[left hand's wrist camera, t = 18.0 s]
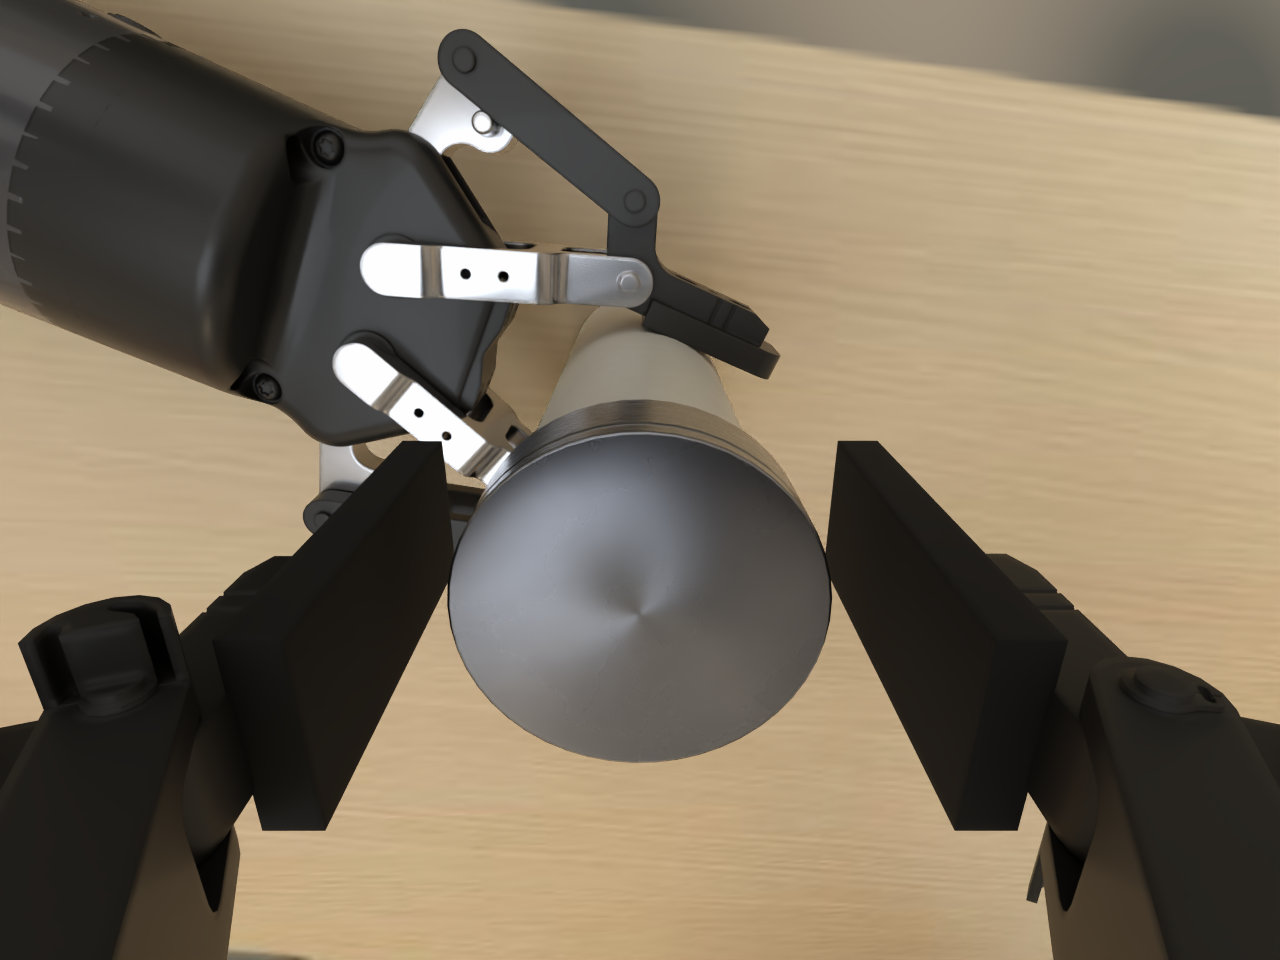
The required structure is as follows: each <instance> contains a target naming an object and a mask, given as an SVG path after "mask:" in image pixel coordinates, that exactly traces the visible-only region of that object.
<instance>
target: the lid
mask: <svg viewBox="0 0 1280 960" xmlns="http://www.w3.org/2000/svg"><path fill="white" fill-rule="evenodd" d="M831 604H832V590H831V576H830V571H829V567H828V562H827V558H826V554H825V551H824V549H823V546H822V543H821V541H820V538H819V536H818V533H817V531H816V529H815V527H814V525H813V524H812V522H811V520H810V518H809V516H808V514H807V512H806V510H805V508H804V506H803V504H802V503H801V501H800V499H799V497H798V495H797V493H796V491H795V489H794V488H793V486H792V484H791V482H790V481H789V479H788V477H787V475H786V474H785V472H784V471H783V469H782V468H781V467H780V466H779V464H778V463H777V462H776V460H775V459H774V458H773V457H772V455H771V454H770V453H769V452H767V451H766V450H765V449H764V448H763V447H762V446H761V445H760V444H759V443H758V442H757V441H756V440H755V439H753V438H752V437H751V436H749V435H748V434H747V433H745V432H744V431H742V430H741V429H740V428H738V427H737V426H735V425H733V424H731V423H729V422H728V421H726V420H724V419H722V418H720V417H718V416H716V415H713V414H711V413H708V412H706V411H703V410H700V409H698V408H695V407H691V406H687V405H682V404H678V403H674V402H668V401H658V400H649V399H642V400H619V401H613V402H606V403H599V404H596V405H592V406H589V407H585V408H582V409H578V410H575V411H573V412H571V413H569V414H566V415H564V416H562V417H559V418H557V419H555V420H553V421H551V422H550V423H548V424H546V425H545V426H543V427H541V428H540V429H538V430H536V431H535V432H534V433H532V434H531V435H530V436H529V437H527V438H526V439H525V440H524V441H522V442H521V443H520V444H519V445H517V447H516V448H515V449H514V450H513V451H512V452H511V453H510V454H509V455H508V456H507V457H506V458H505V459H504V460H503V461H502V463H501V464H500V466H499V467H498V469H497V470H496V471H495V473H494V474H493V476H492V477H491V478H490V480H489V482H488V484H487V486H486V488H485V490H484V492H483V494H482V496H481V498H480V499H479V501H478V503H477V505H476V507H475V509H474V511H473V513H472V515H471V517H470V519H469V521H468V523H467V525H466V526H465V528H464V530H463V532H462V534H461V536H460V538H459V540H458V543H457V546H456V549H455V552H454V555H453V559H452V562H451V567H450V573H449V579H448V604H447V606H448V613H449V620H450V627H451V630H452V634H453V637H454V641H455V644H456V647H457V650H458V652H459V654H460V656H461V659H462V661H463V663H464V665H465V667H466V669H467V671H468V672H469V674H470V675H471V677H472V678H473V680H474V682H475V683H476V685H477V686H478V687H479V689H480V690H481V691H482V692H483V693H484V695H485V696H486V697H487V698H488V699H489V700H490V702H491V703H492V704H493V705H494V706H495V707H497V708H498V709H499V710H500V711H501V712H502V713H503V714H504V715H505V716H506V717H507V718H509V719H510V720H512V721H513V722H514V723H516V724H517V725H518V726H520V727H521V728H523V729H524V730H525V731H527V732H529V733H531V734H533V735H534V736H536V737H538V738H540V739H542V740H543V741H545V742H548V743H550V744H552V745H555V746H557V747H559V748H562V749H564V750H567V751H570V752H574V753H577V754H580V755H584V756H587V757H592V758H597V759H603V760H608V761H618V762H629V763H645V762H662V761H670V760H678V759H682V758H687V757H691V756H696V755H700V754H703V753H706V752H709V751H712V750H714V749H717V748H720V747H723V746H725V745H727V744H729V743H731V742H733V741H735V740H738V739H740V738H742V737H743V736H745V735H747V734H748V733H750V732H752V731H753V730H755V729H756V728H758V727H760V726H761V725H762V724H764V723H765V722H766V721H767V720H769V719H770V718H771V717H773V716H774V715H775V714H776V713H778V712H779V711H780V710H781V709H782V708H783V707H784V706H785V705H786V704H787V703H788V702H789V701H790V700H791V699H792V698H793V696H794V695H795V694H796V692H797V691H798V690H799V689H800V687H801V686H802V685H803V683H804V682H805V681H806V679H807V677H808V676H809V674H810V672H811V671H812V669H813V667H814V665H815V664H816V662H817V659H818V657H819V655H820V652H821V650H822V647H823V645H824V642H825V639H826V634H827V630H828V626H829V622H830V615H831Z"/></svg>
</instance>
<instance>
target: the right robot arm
mask: <svg viewBox="0 0 1280 960" xmlns="http://www.w3.org/2000/svg"><path fill="white" fill-rule="evenodd" d="M438 65H439V69H440V71H441V75H440V77H439V79H438V80H437V82H436V84H435V85H434V87H433V89H432V91H431V92H430V94H429V96H428V97H427V99H426V101H425V103H424V104H423V106H422V108H421V109H420V111H419V113H418V115H417V116H416V118H415V120H414V121H413V123H412V125H411V126H410V128H409V130H408V131H406V130H400V129H389V130H381V131H363V130H361V129H358V128H355V127H353V126H351V125H348V124H346V123H344V122H342V121H340V120H337V119H335V118H333V117H331V116H329V115H326V114H324V113H322V112H320V111H318V110H316V109H313V108H311V107H309V106H307V105H305V104H302V103H300V102H298V101H296V100H294V99H292V98H289V97H287V96H285V95H283V94H281V93H278V92H276V91H274V90H272V89H270V88H268V87H265V86H263V85H261V84H259V83H257V82H254V81H252V80H250V79H248V78H246V77H244V76H241V75H239V74H237V73H235V72H233V71H230V70H228V69H226V68H224V67H222V66H220V65H217V64H215V63H213V62H211V61H209V60H207V59H205V58H202V57H200V56H198V55H196V54H194V53H192V52H189V51H187V50H185V49H183V48H180V47H178V46H176V45H174V44H172V43H169V42H167V41H165V40H163V39H162V38H161V37H160V36H158V35H157V34H155V33H154V32H152V31H151V30H149V29H147V28H146V27H144V26H142V25H140V24H139V23H137V22H135V21H133V20H131V19H129V18H126V17H124V16H122V15H119V14H111V13H104V12H102V11H100V10H98V9H95V8H93V7H91V6H89V5H87V4H85V3H82V2H80V1H78V0H0V304H1V305H3V306H6V307H9V308H11V309H14V310H16V311H19V312H21V313H24V314H27V315H29V316H32V317H34V318H37V319H40V320H42V321H45V322H47V323H50V324H53V325H55V326H58V327H60V328H63V329H65V330H68V331H70V332H73V333H75V334H78V335H80V336H83V337H85V338H88V339H91V340H93V341H96V342H98V343H101V344H103V345H106V346H108V347H111V348H113V349H116V350H118V351H121V352H124V353H126V354H129V355H131V356H134V357H136V358H139V359H141V360H144V361H147V362H149V363H152V364H154V365H157V366H159V367H162V368H164V369H167V370H170V371H172V372H175V373H177V374H180V375H182V376H185V377H187V378H190V379H193V380H195V381H198V382H200V383H203V384H205V385H208V386H210V387H213V388H216V389H218V390H221V391H223V392H226V393H229V394H233V395H236V396H240V397H244V398H247V399H251V400H255V401H259V402H263V403H266V404H269V405H272V406H274V407H276V408H278V409H279V410H281V411H282V412H284V413H285V414H287V415H288V416H289V417H290V418H292V419H293V420H294V421H295V422H296V423H297V424H298V425H299V426H300V427H301V428H302V429H303V430H304V431H305V432H306V433H307V434H308V435H309V436H310V437H312V438H313V439H315V440H317V441H319V442H320V492H319V494H318V496H317V497H316V498H314V499H313V500H312V501H311V502H310V503H309V504H308V505H307V506H306V508H305V509H304V512H303V520H304V523H305V525H306V527H307V528H308V530H309V531H310V532H312V533H313V534H314V533H315V532H316V531H317V530H318V529H319V528H320V527H321V526H322V525H323V524H324V522H325V521H326V520H327V519H328V518H329V517H330V516H331V515H332V514H333V513H334V512H335V511H336V510H337V509H338V508H339V507H340V506H341V505H342V504H343V503H344V502H345V501H346V499H347V498H348V497H349V496H350V495H351V494H352V493H353V492H354V491H355V490H356V489H357V488H358V487H359V486H360V485H361V484H362V483H363V482H364V481H365V480H366V479H367V478H368V477H369V475H370V474H371V473H372V472H373V471H374V470H375V469H376V468H377V467H378V466H379V465H380V464H381V463H382V462H383V461H384V460H385V459H382V458H379V457H377V456H375V455H374V454H373V453H372V452H370V450H369V449H368V448H367V446H366V444H365V443H367V442H371V441H376V440H381V439H386V438H391V437H395V436H400V435H405V434H412V435H413V436H414V437H415V438H416V439H418V440H419V441H442V445H443V454H444V461H445V462H446V463H447V464H448V465H450V466H451V467H452V468H453V469H455V470H456V471H457V472H459V473H460V474H462V475H464V476H466V477H475V478H477V479H479V480H481V481H482V482H483V483H484V484H486V485H487V484H488V482H489V480H490V478H491V477H492V476H493V474H494V473H495V471H496V470H497V469H498V467H499V466H500V464H501V463H502V461H503V460H504V459H505V458H506V457H507V456H508V455H509V454H510V453H511V452H512V451H513V450H514V449H515V448H516V447H517V445H519V444H520V443H521V442H522V441H524V440H525V439H526V438H527V437H529V436H530V435H531V434H532V432H531V431H530V430H529V429H528V428H526V427H525V426H524V425H523V424H522V423H521V422H520V421H519V420H518V418H517V416H516V413H515V412H514V411H513V409H512V408H511V407H510V406H509V405H508V404H507V403H506V402H504V401H503V400H502V399H501V398H500V397H499V396H498V395H496V394H495V393H494V392H493V391H492V390H491V389H489V388H488V387H489V384H490V381H491V379H492V376H493V373H494V370H495V366H496V353H497V342H498V339H499V338H500V336H501V335H502V334H503V332H504V331H505V329H506V328H507V327H508V325H509V324H510V323H511V321H512V320H513V318H514V316H515V314H516V311H517V308H518V305H519V303H523V304H538V305H550V304H558V303H567V304H582V305H596V306H611V307H625V308H627V309H629V310H632V311H634V312H636V313H638V314H641V315H642V326H644V327H647V328H649V329H651V330H653V331H656V332H658V333H660V334H662V335H665V336H667V337H669V338H672V339H675V340H677V341H679V342H681V343H684V344H686V345H687V346H690V347H692V348H694V349H696V350H699V351H701V352H703V353H705V354H708V355H710V356H712V357H714V358H717V359H719V360H721V361H723V362H726V363H728V364H730V365H733V366H735V367H737V368H739V369H742V370H744V371H746V372H748V373H751V374H753V375H755V376H757V377H760V378H763V379H769V377H770V375H771V373H772V371H773V369H774V367H775V365H776V363H777V361H778V359H779V357H780V354H779V353H778V352H777V351H776V350H775V349H774V347H773V346H772V345H770V344H769V343H767V342H766V341H764V339H765V337H766V335H767V333H768V331H769V328H768V327H767V326H766V325H765V324H764V323H763V322H762V320H761V319H760V318H759V317H758V316H757V315H756V314H755V313H754V312H753V311H752V310H751V309H750V308H749V307H748V306H747V305H745V304H742V303H740V302H738V301H736V300H734V299H731V298H729V297H727V296H725V295H723V294H721V293H718V292H716V291H714V290H712V289H710V288H707V287H705V286H703V285H701V284H699V283H697V282H694V281H692V280H690V279H688V278H686V277H683V276H681V275H679V274H677V273H675V272H673V271H671V270H669V269H667V268H666V267H665V266H664V265H663V264H662V263H661V262H660V260H659V259H658V257H657V255H656V250H655V243H656V228H657V214H658V210H659V207H660V195H659V192H658V189H657V187H656V186H655V184H654V183H653V182H652V181H651V180H650V179H649V178H648V177H647V176H645V175H644V174H643V173H642V172H641V171H640V170H638V169H637V168H636V167H635V166H634V165H632V164H631V163H630V162H629V161H628V160H627V159H625V158H624V157H623V156H622V155H621V154H619V153H618V152H617V151H616V150H615V149H613V148H612V147H611V146H610V145H609V144H608V143H606V142H605V141H604V140H603V139H602V138H600V137H599V136H598V135H597V134H596V133H594V132H593V131H592V130H591V129H590V128H589V127H587V126H586V125H585V124H584V123H583V122H581V121H580V120H579V119H578V118H577V117H575V116H574V115H573V114H572V113H571V112H570V111H568V110H567V109H566V108H565V107H564V106H562V105H561V104H560V103H559V102H558V101H557V100H555V99H554V98H553V97H552V96H551V95H549V94H548V93H547V92H546V91H545V90H543V89H542V88H541V87H540V86H539V85H538V84H536V83H535V82H534V81H533V80H532V79H530V78H529V77H528V76H527V75H526V74H524V73H523V72H522V71H521V70H520V69H519V68H517V67H516V66H515V65H514V64H513V63H511V62H510V61H509V60H508V59H507V58H505V57H504V56H503V55H502V54H501V53H500V52H498V51H497V50H496V49H495V48H494V47H492V46H491V45H490V44H489V43H488V42H486V41H485V40H484V39H483V38H482V37H481V36H479V35H478V34H477V33H475V32H473V31H471V30H467V29H458V30H454V31H452V32H450V33H449V34H447V35H446V36H445V37H444V39H443V40H442V42H441V44H440V46H439V50H438ZM518 140H519V141H520V142H521V143H522V144H524V145H525V146H526V147H527V148H529V149H530V150H531V151H532V152H533V153H535V154H536V155H537V156H538V157H540V158H541V159H542V160H543V161H544V162H546V163H547V164H548V165H549V166H551V167H552V168H553V169H554V170H556V171H557V172H558V173H559V174H560V175H562V176H563V177H564V178H565V179H567V180H568V181H569V182H570V183H571V184H573V185H574V186H575V187H576V188H578V189H579V190H580V191H581V192H583V193H584V194H585V195H586V196H587V197H589V198H590V199H591V200H592V201H594V202H595V203H596V204H597V205H598V206H600V207H601V208H602V209H603V210H605V211H606V212H607V213H608V234H607V249H606V248H592V247H579V246H569V245H564V244H555V243H541V242H527V241H514V240H502V239H501V238H500V236H499V235H498V233H497V231H496V230H495V228H494V226H493V225H492V223H491V222H490V220H489V218H488V217H487V215H486V214H485V212H484V210H483V209H482V207H481V206H480V204H479V202H478V201H477V199H476V198H475V196H474V194H473V193H472V191H471V190H470V188H469V186H468V185H467V183H466V182H465V180H464V178H463V177H462V175H461V174H460V172H459V170H458V169H457V167H456V166H455V164H454V162H453V161H452V159H451V158H450V156H451V155H452V154H453V152H455V151H456V150H457V149H459V148H461V147H463V146H473V147H475V148H477V149H478V150H480V151H483V152H486V153H490V154H495V155H500V154H504V153H507V152H508V151H510V150H511V149H512V148H513V147H514V146H515V144H516V143H517V141H518ZM448 432H450V433H451V434H449V433H448ZM447 490H448V499H449V508H450V517H451V526H452V536H453V545H454V552H455V549H456V546H457V543H458V540H459V538H460V536H461V534H462V532H463V530H464V528H465V526H466V525H467V523H468V521H469V519H470V517H471V515H472V513H473V511H474V509H475V507H476V505H477V503H478V501H479V499H480V498H481V496H482V494H483V492H484V490H485V489H481V488H475V487H468V486H462V485H456V484H449V483H447Z"/></svg>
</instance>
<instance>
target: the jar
mask: <svg viewBox="0 0 1280 960" xmlns="http://www.w3.org/2000/svg"><path fill="white" fill-rule="evenodd" d="M642 399H649V400H658V401H668V402H674V403H678V404H682V405H687V406H691V407H695V408H698V409H700V410H703V411H706V412H708V413H711V414H713V415H716V416H718V417H720V418H722V419H724V420H726V421H728V422H729V423H731V424H733V425H735V426H737V427H738V428H740V429H741V430H742V428H741V426H740V424H739V421H738V419H737V417H736V414H735V412H734V410H733V407H732V405H731V403H730V401H729V398H728V396H727V394H726V391H725V389H724V387H723V384H722V382H721V380H720V377H719V375H718V373H717V371H716V368H715V366H714V364H713V361H712V359H711V357H710V355H708V354H705V353H703V352H701V351H699V350H696V349H694V348H692V347H690V346H687V345H686V344H684V343H681V342H679V341H677V340H675V339H672V338H669V337H667V336H665V335H662V334H660V333H658V332H656V331H653V330H651V329H649V328H647V327H644V326H642V315H641V314H638V313H636V312H634V311H632V310H629V309H627V308H625V307H611V306H600V307H598V308H597V309H596V310H595V311H594V312H593V313H592V314H591V315H590V316H589V317H588V319H587V320H586V321H585V323H584V324H583V326H582V328H581V330H580V332H579V334H578V336H577V339H576V341H575V343H574V346H573V348H572V350H571V353H570V355H569V357H568V360H567V362H566V364H565V366H564V369H563V371H562V373H561V376H560V378H559V380H558V383H557V385H556V387H555V390H554V392H553V394H552V397H551V399H550V401H549V403H548V406H547V408H546V410H545V413H544V415H543V417H542V420H541V422H540V424H539V427H538V429H540V428H541V427H543V426H545V425H546V424H548V423H550V422H551V421H553V420H555V419H557V418H559V417H562V416H564V415H566V414H569V413H571V412H573V411H575V410H578V409H582V408H585V407H589V406H592V405H596V404H599V403H606V402H613V401H619V400H642ZM538 429H537V430H538Z"/></svg>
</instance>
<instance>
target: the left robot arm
mask: <svg viewBox="0 0 1280 960" xmlns="http://www.w3.org/2000/svg"><path fill="white" fill-rule="evenodd" d="M453 555H454V545H453V536H452V526H451V517H450V508H449V499H448V490H447V481H446V472H445V463H444V454H443V445H442V441H402V442H401V443H400V444H399V445H398V446H397V447H396V448H395V449H394V450H393V451H392V453H391V454H390V455H389V456H388V457H387V458H386V459H385V460H384V461H383V462H382V463H381V464H380V465H379V466H378V467H377V468H376V469H375V470H374V471H373V472H372V473H371V474H370V475H369V477H368V478H367V479H366V480H365V481H364V482H363V483H362V484H361V485H360V486H359V487H358V488H357V489H356V490H355V491H354V492H353V493H352V494H351V495H350V496H349V497H348V498H347V499H346V501H345V502H344V503H343V504H342V505H341V506H340V507H339V508H338V509H337V510H336V511H335V512H334V513H333V514H332V515H331V516H330V517H329V518H328V519H327V520H326V521H325V522H324V524H323V525H322V526H321V527H320V528H319V529H318V530H317V531H316V532H315V533H314V534H313V535H312V536H311V537H310V538H309V539H308V540H307V541H306V542H305V543H304V544H303V545H302V546H301V548H300V549H299V550H298V551H297V552H296V553H295V554H294V555H293V556H274V557H272V558H270V559H268V560H267V561H265V562H263V563H261V564H259V565H257V566H255V567H254V568H252V569H250V570H248V571H246V572H244V573H243V574H242V575H241V576H240V577H239V578H238V579H237V580H236V581H235V582H234V583H233V584H232V585H231V586H230V587H228V588H227V589H226V590H225V591H224V595H223V596H219V597H218V598H217V599H216V600H215V601H214V602H213V603H212V604H211V605H210V606H209V607H208V608H207V612H202V613H201V614H200V615H199V616H198V617H197V618H196V619H195V620H194V621H193V622H192V623H191V624H190V625H189V626H188V627H187V628H186V629H185V630H184V631H183V632H182V633H180V634H179V633H178V629H177V626H176V622H175V619H174V615H173V612H172V608H171V605H170V604H169V603H167V602H165V601H164V600H162V599H161V598H158V597H150V596H142V595H136V596H125V597H114V598H110V599H105V600H101V601H97V602H93V603H89V604H85V605H82V606H79V607H77V608H74V609H72V610H69V611H66V612H64V613H61V614H59V615H56V616H55V617H53V618H51V619H49V620H48V621H46V622H44V623H42V624H41V625H39V626H37V627H35V628H34V629H32V630H31V631H30V632H29V633H28V634H27V635H26V636H25V637H24V638H23V639H22V640H21V641H20V642H19V643H18V645H19V647H20V650H21V652H22V655H23V658H24V660H25V663H26V665H27V668H28V670H29V673H30V676H31V678H32V681H33V683H34V686H35V688H36V691H37V694H38V696H39V699H40V701H41V704H42V706H43V709H44V711H43V713H42V715H41V716H40V718H39V720H38V721H33V722H28V723H23V724H18V725H13V726H8V727H2V728H0V960H227V954H228V946H229V938H230V931H231V923H232V915H233V907H234V899H235V892H236V884H237V876H238V868H239V860H240V849H239V843H238V838H237V834H236V831H235V827H234V823H235V821H236V820H237V818H238V817H239V815H240V814H241V812H242V810H243V809H244V807H245V806H246V804H247V803H248V801H249V800H250V798H251V797H252V795H253V797H254V801H255V805H256V808H257V812H258V816H259V819H260V823H261V827H262V831H325V830H326V828H327V826H328V824H329V822H330V820H331V818H332V816H333V814H334V812H335V810H336V808H337V806H338V804H339V802H340V800H341V798H342V796H343V794H344V792H345V790H346V788H347V785H348V783H349V781H350V779H351V777H352V775H353V773H354V771H355V769H356V767H357V765H358V763H359V761H360V759H361V757H362V755H363V753H364V751H365V749H366V747H367V745H368V743H369V741H370V739H371V737H372V735H373V733H374V731H375V729H376V727H377V725H378V723H379V721H380V719H381V717H382V715H383V713H384V711H385V709H386V707H387V704H388V702H389V700H390V698H391V696H392V694H393V692H394V690H395V688H396V686H397V684H398V682H399V680H400V678H401V676H402V674H403V672H404V670H405V668H406V666H407V664H408V662H409V660H410V658H411V656H412V654H413V652H414V650H415V648H416V646H417V644H418V642H419V640H420V638H421V636H422V634H423V632H424V630H425V628H426V625H427V623H428V621H429V619H430V617H431V615H432V613H433V611H434V609H435V607H436V605H437V603H438V601H439V599H440V597H441V595H442V593H443V591H444V589H445V587H446V585H447V583H448V579H449V573H450V567H451V562H452V559H453ZM826 558H827V562H828V567H829V571H830V576H831V581H832V583H833V585H834V587H835V589H836V591H837V593H838V595H839V597H840V599H841V601H842V603H843V605H844V607H845V609H846V611H847V613H848V615H849V617H850V619H851V621H852V623H853V626H854V628H855V630H856V632H857V634H858V636H859V638H860V640H861V642H862V644H863V646H864V648H865V650H866V652H867V654H868V656H869V658H870V660H871V662H872V664H873V666H874V668H875V670H876V672H877V674H878V676H879V678H880V680H881V682H882V684H883V686H884V688H885V690H886V692H887V694H888V696H889V698H890V700H891V702H892V704H893V707H894V709H895V711H896V713H897V715H898V717H899V719H900V721H901V723H902V725H903V727H904V729H905V731H906V733H907V735H908V737H909V739H910V741H911V743H912V745H913V747H914V749H915V751H916V753H917V755H918V757H919V759H920V761H921V763H922V765H923V767H924V769H925V771H926V773H927V775H928V777H929V779H930V781H931V783H932V785H933V788H934V790H935V792H936V794H937V796H938V798H939V800H940V802H941V804H942V806H943V808H944V810H945V812H946V814H947V816H948V818H949V820H950V822H951V824H952V826H953V828H954V830H955V831H1018V827H1019V823H1020V819H1021V816H1022V812H1023V808H1024V804H1025V801H1026V797H1027V793H1029V794H1030V796H1031V797H1032V799H1033V800H1034V802H1035V804H1036V805H1037V807H1038V808H1039V810H1040V811H1041V813H1042V814H1043V816H1044V817H1045V819H1046V821H1047V824H1046V827H1045V831H1044V834H1043V838H1042V841H1041V845H1040V848H1039V852H1038V855H1037V859H1036V862H1035V866H1034V869H1033V873H1032V876H1031V880H1030V883H1029V888H1028V893H1027V899H1026V900H1027V901H1031V902H1034V903H1037V901H1038V898H1039V895H1040V891H1041V888H1042V887H1044V889H1045V897H1046V905H1047V913H1048V920H1049V928H1050V936H1051V944H1052V952H1053V959H1054V960H1280V724H1274V723H1269V722H1264V721H1259V720H1254V719H1249V718H1243V717H1240V715H1239V713H1238V711H1237V709H1236V708H1235V707H1234V706H1233V705H1232V704H1231V702H1230V701H1229V700H1228V699H1227V698H1226V697H1225V695H1224V694H1223V693H1221V692H1220V691H1218V690H1217V689H1216V688H1214V687H1213V686H1211V685H1210V684H1208V683H1207V682H1205V681H1204V680H1202V679H1201V678H1199V677H1196V676H1194V675H1192V674H1190V673H1188V672H1185V671H1183V670H1181V669H1179V668H1177V667H1174V666H1171V665H1167V664H1164V663H1160V662H1157V661H1153V660H1149V659H1144V658H1135V657H1127V656H1126V655H1125V654H1124V653H1123V652H1122V651H1121V650H1120V649H1119V648H1118V647H1117V646H1116V645H1115V644H1114V643H1113V642H1112V641H1111V640H1110V639H1108V638H1107V637H1106V636H1105V635H1104V634H1103V633H1102V632H1101V631H1100V630H1099V629H1098V628H1097V627H1096V626H1095V625H1094V624H1093V623H1092V622H1091V621H1090V620H1088V619H1087V618H1086V617H1085V616H1084V615H1083V614H1082V613H1081V612H1080V611H1079V610H1074V605H1073V604H1072V603H1071V602H1070V601H1068V600H1067V599H1066V598H1065V597H1064V596H1063V595H1062V594H1061V593H1057V589H1056V588H1055V587H1054V586H1053V585H1052V584H1051V583H1050V582H1049V581H1047V580H1046V579H1045V578H1044V577H1043V576H1042V575H1041V574H1040V573H1039V572H1038V571H1037V570H1035V569H1033V568H1032V567H1030V566H1028V565H1026V564H1024V563H1022V562H1020V561H1018V560H1017V559H1015V558H1013V557H1011V556H1009V555H1007V554H985V553H984V552H983V551H982V550H981V549H980V548H979V546H978V545H977V544H976V543H975V542H974V541H973V540H972V539H971V538H970V537H969V536H968V535H967V534H966V533H965V532H964V531H963V530H962V529H961V528H960V527H959V526H958V525H957V524H956V522H955V521H954V520H953V519H952V518H951V517H950V516H949V515H948V514H947V513H946V512H945V511H944V510H943V509H942V508H941V507H940V506H939V505H938V504H937V503H936V502H935V501H934V499H933V498H932V497H931V496H930V495H929V494H928V493H927V492H926V491H925V490H924V489H923V488H922V487H921V486H920V485H919V484H918V483H917V482H916V481H915V480H914V479H913V478H912V477H911V475H910V474H909V473H908V472H907V471H906V470H905V469H904V468H903V467H902V466H901V465H900V464H899V463H898V462H897V461H896V460H895V459H894V458H893V457H892V456H891V455H890V454H889V453H888V451H887V450H886V449H885V448H884V447H883V446H882V445H881V444H880V443H879V442H878V441H838V445H837V454H836V463H835V472H834V481H833V490H832V499H831V508H830V517H829V526H828V535H827V545H826Z"/></svg>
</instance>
